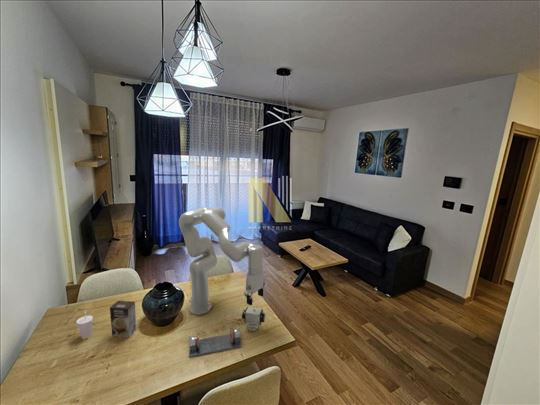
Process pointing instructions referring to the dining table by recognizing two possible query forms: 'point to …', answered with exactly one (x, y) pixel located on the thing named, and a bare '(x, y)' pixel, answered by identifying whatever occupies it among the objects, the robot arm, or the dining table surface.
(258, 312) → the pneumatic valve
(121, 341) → the dining table surface
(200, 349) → the grey bracket
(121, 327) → the coffee box
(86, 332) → the smoothie
